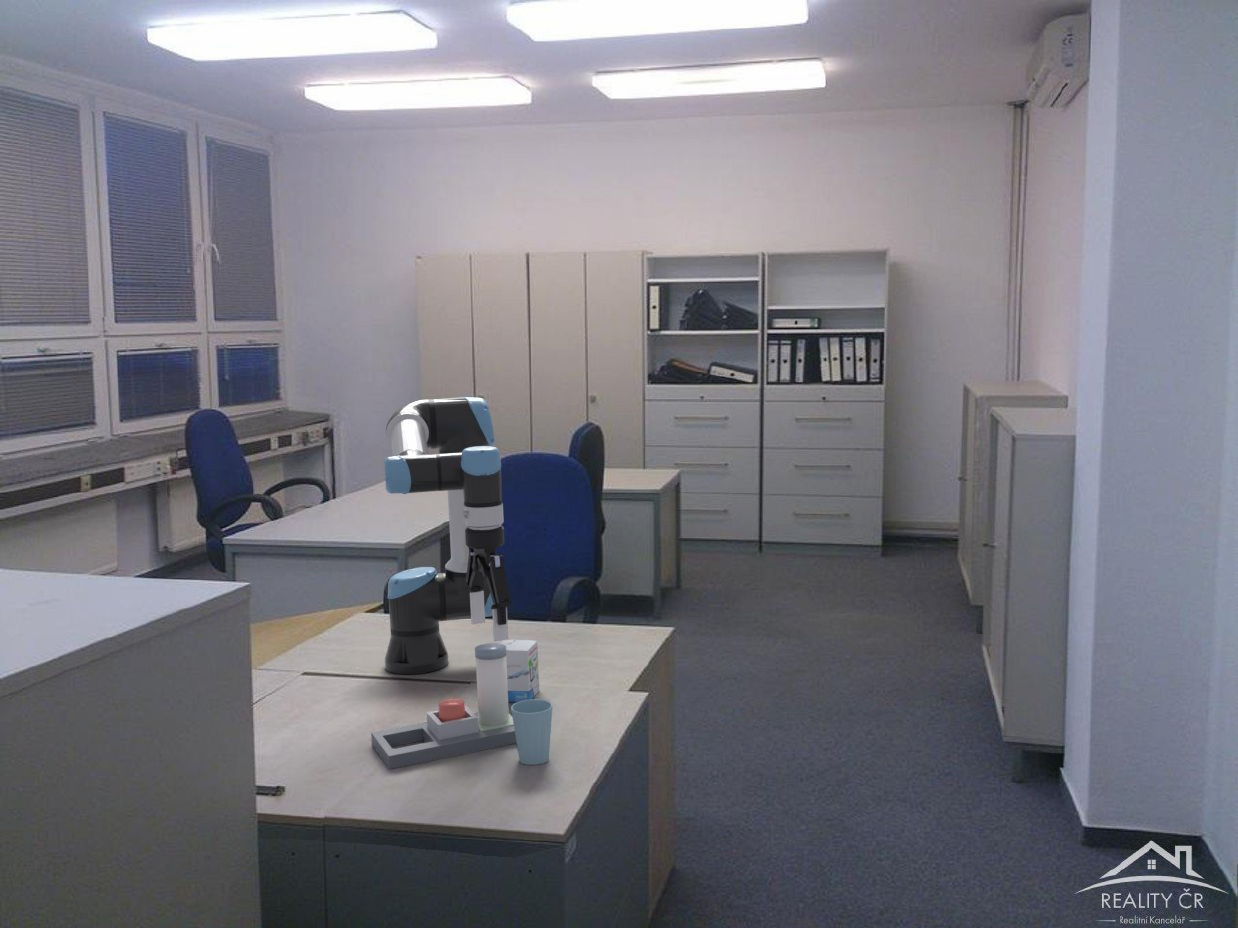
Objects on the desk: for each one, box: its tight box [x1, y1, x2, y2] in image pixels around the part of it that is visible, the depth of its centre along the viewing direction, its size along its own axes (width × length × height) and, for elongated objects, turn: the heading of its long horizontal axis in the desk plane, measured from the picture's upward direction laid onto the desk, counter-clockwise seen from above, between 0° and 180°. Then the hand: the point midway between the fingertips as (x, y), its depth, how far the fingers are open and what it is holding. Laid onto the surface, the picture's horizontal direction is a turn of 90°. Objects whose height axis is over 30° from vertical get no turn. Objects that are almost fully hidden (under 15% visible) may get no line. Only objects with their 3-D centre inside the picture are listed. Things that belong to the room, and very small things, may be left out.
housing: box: [370, 705, 517, 770], centre depth 216 cm, size 14×27×6 cm, turn 116°
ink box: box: [498, 639, 540, 703], centre depth 242 cm, size 8×8×12 cm
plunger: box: [438, 698, 465, 722], centre depth 216 cm, size 5×5×5 cm
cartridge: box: [474, 642, 510, 726], centre depth 219 cm, size 6×6×15 cm
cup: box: [510, 698, 553, 766], centre depth 206 cm, size 8×8×10 cm
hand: (489, 631), depth 218 cm, fingers open, 13 cm apart
